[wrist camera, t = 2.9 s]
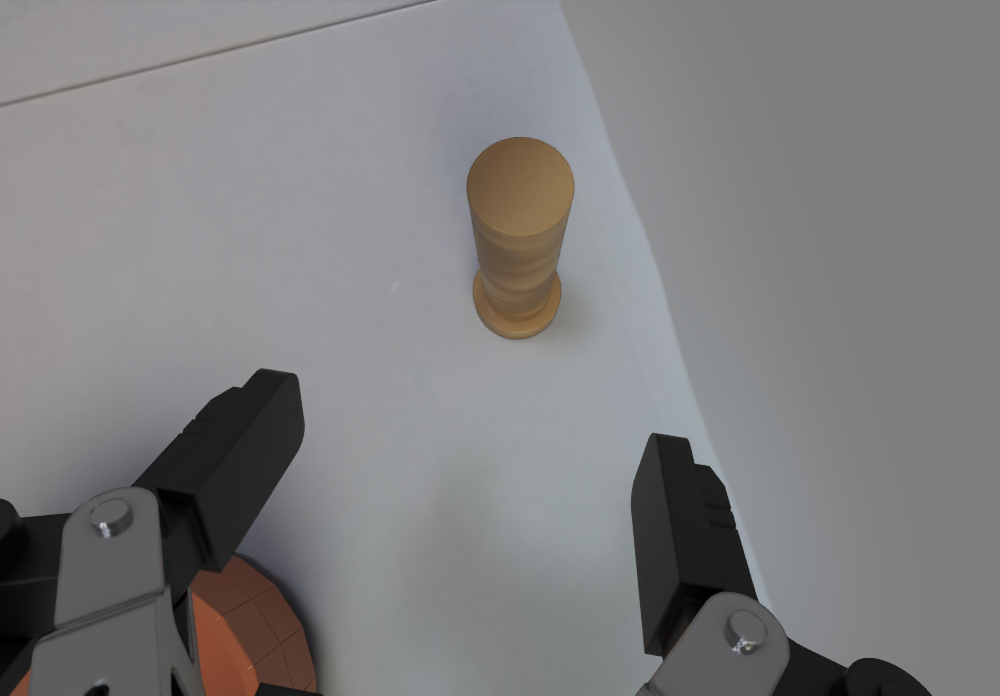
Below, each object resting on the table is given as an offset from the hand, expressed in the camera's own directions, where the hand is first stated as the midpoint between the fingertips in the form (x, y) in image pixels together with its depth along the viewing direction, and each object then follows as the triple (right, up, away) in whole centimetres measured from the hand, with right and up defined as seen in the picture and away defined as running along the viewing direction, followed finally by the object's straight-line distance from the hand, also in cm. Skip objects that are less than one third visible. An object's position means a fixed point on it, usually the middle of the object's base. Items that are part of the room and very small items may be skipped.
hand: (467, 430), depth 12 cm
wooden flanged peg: (+2, +5, +18) cm, 19 cm away
